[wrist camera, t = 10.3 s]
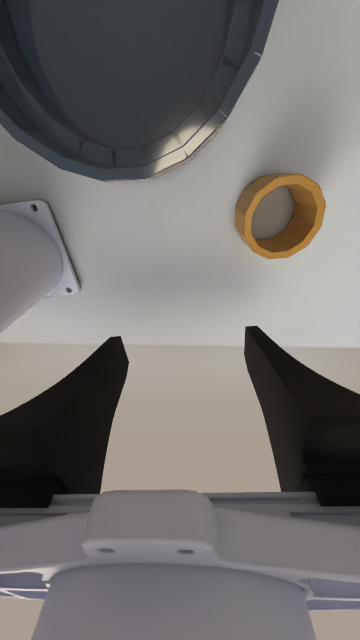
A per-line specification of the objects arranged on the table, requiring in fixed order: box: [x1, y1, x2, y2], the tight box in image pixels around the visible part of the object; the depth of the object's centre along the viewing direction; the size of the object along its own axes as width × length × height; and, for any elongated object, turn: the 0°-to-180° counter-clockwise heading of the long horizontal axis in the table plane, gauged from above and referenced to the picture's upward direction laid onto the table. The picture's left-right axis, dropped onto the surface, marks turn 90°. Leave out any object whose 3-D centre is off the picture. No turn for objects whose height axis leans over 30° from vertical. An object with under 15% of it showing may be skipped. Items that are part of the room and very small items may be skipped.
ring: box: [235, 174, 326, 259], centre depth 16 cm, size 5×5×4 cm
